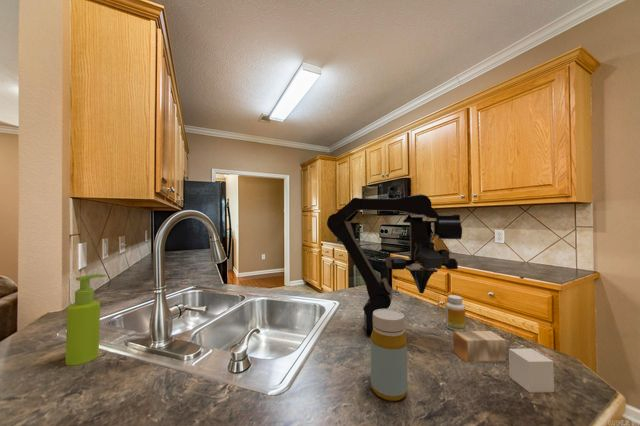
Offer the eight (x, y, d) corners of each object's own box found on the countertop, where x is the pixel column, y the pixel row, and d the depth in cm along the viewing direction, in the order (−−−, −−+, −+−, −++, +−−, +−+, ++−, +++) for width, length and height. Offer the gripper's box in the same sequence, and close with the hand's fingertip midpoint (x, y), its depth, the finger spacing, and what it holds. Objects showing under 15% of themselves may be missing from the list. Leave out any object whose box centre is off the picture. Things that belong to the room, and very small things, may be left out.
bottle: (407, 383, 52) (406, 310, 52) (407, 406, 45) (406, 323, 46) (373, 376, 54) (372, 306, 55) (368, 397, 48) (368, 318, 48)
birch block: (465, 340, 60) (505, 340, 60) (453, 331, 65) (490, 330, 65) (465, 361, 60) (506, 361, 60) (453, 350, 65) (491, 350, 65)
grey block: (529, 392, 49) (528, 361, 49) (509, 376, 54) (508, 348, 54) (554, 392, 49) (553, 361, 49) (531, 376, 54) (531, 348, 54)
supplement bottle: (469, 331, 76) (468, 299, 76) (451, 331, 76) (450, 299, 76) (459, 324, 81) (459, 294, 82) (443, 324, 81) (442, 294, 82)
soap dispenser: (108, 353, 63) (110, 274, 64) (72, 368, 57) (75, 279, 58) (96, 348, 66) (98, 272, 66) (60, 362, 59) (63, 277, 60)
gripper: (398, 240, 64) (398, 302, 63) (469, 240, 64) (471, 301, 64) (385, 237, 75) (385, 290, 74) (446, 237, 75) (447, 289, 75)
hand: (421, 293), depth 72 cm, fingers closed
